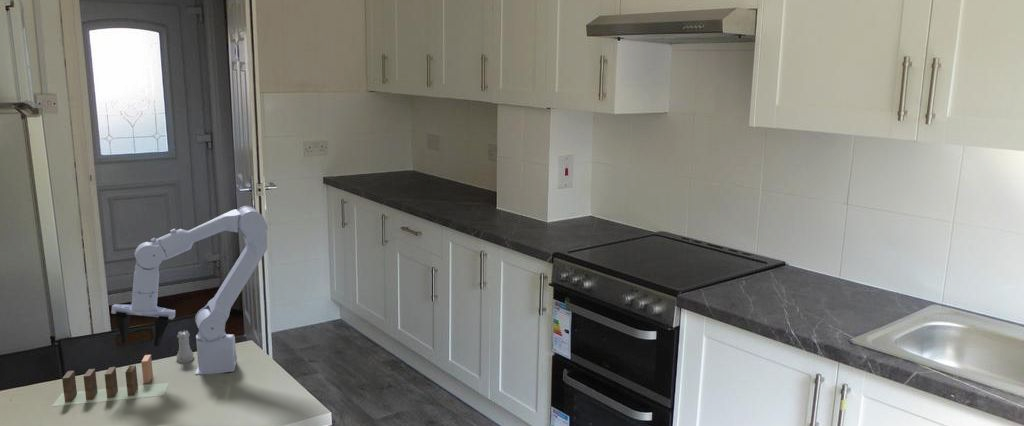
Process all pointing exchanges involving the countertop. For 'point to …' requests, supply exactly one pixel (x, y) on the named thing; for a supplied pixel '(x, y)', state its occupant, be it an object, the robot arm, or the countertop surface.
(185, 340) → the rook chess piece
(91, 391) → the domino
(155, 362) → the countertop surface
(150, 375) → the terracotta domino
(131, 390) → the domino
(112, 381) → the domino
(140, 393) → the sage mat
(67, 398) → the domino
